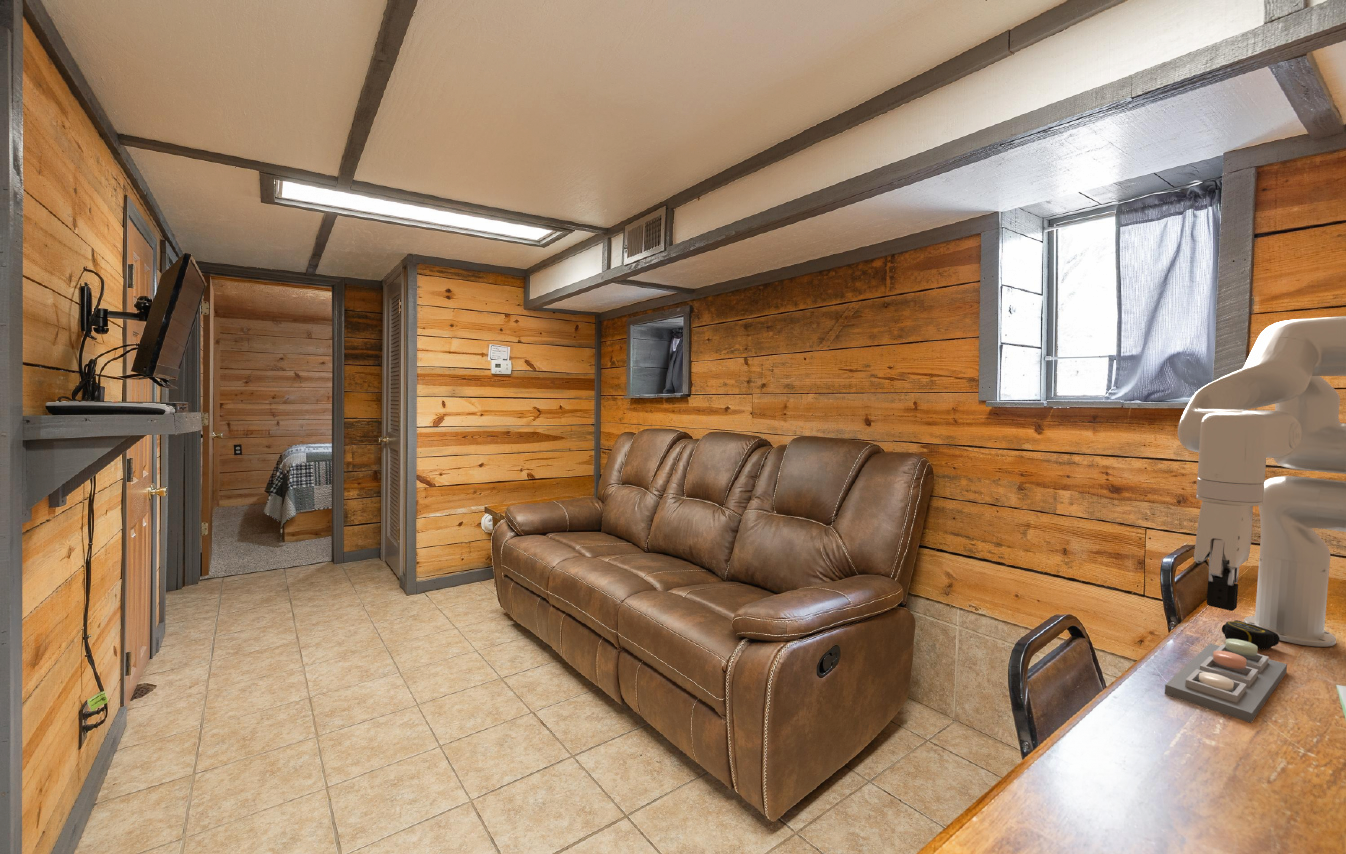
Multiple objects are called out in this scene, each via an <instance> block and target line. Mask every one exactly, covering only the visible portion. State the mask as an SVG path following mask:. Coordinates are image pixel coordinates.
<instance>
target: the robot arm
mask: <svg viewBox="0 0 1346 854" xmlns="http://www.w3.org/2000/svg"><path fill="white" fill-rule="evenodd" d="M1324 377H1346V315H1344V316H1342V315H1341V316H1330V317H1329V316H1328V317H1327V316H1326V317H1314V318H1311V317H1310V318H1297V319H1296V318H1295V319H1289V320H1282V321H1279V322H1278V321H1277V322H1274V323H1273V324H1271V325H1268V326H1267V327H1266V328H1264V330H1262V331H1261V332H1260V334H1259V335H1258V337H1257V339H1256V341H1255V342H1254V345H1253V347H1252V349H1251V351H1250V352H1249V355H1248V357H1247V359H1246V361H1245V363H1244V365H1243V367H1242V368H1241V369H1239V370H1236V371H1233V372H1231V373H1229V374H1226V375H1224V376H1221V377H1220V378H1218V379H1215V380H1214V381H1212V382H1209V383H1208V384H1205V385H1204V386H1202V387H1201V388H1199V389H1198V390H1197V391H1196V392H1195V393H1194V394H1193V395H1192V396H1191V398H1190V400H1189V401H1188V404H1187V406H1186V407H1185V409H1184V410H1183V412H1182V415H1181V416H1180V419H1179V422H1178V425H1177V438H1178V440H1179V443H1180V445H1181V446H1182V447H1184V449H1186V450H1189V451H1191V452H1195V453H1198V464H1197V480H1196V495H1195V498H1196V499H1197V500H1199V501H1201V505H1200V510H1199V512H1198V513H1199V515H1198V520H1197V527H1196V536H1195V544H1194V552H1193V559H1194V560H1193V561H1195V562H1196V563H1197V564H1201V563H1203V562H1205V561H1206V560H1208V580H1207V591H1206V592H1207V594H1206V604H1207V606H1209V607H1213V608H1217V609H1220V610H1221V609H1222V610H1226V611H1230V612H1233V611H1235V610H1236V609H1237V607H1238V596H1239V595H1238V594H1239V584H1238V581H1239V574H1240V566H1242V564H1244V563H1245V562H1247V560H1249V557H1250V553H1251V547H1252V535H1253V533H1252V532H1253V515H1254V509H1253V508H1254V507H1257V506H1258V512H1259V517H1260V519H1259V520H1260V521H1259V522H1260V545H1259V556H1258V557H1259V559H1258V560H1259V561H1258V573H1257V584H1256V585H1257V587H1256V588H1257V589H1256V598H1255V613H1254V615H1249V616H1246V617H1244V619H1243V622H1245V623H1248V624H1252V625H1256V626H1259V627H1262V628H1265V629H1267V630H1270V631H1272V632H1274V633H1276V634H1278V636H1279V641H1281V642H1284V643H1285V642H1286V643H1291V644H1295V645H1301V646H1306V647H1307V646H1308V647H1318V648H1319V647H1320V648H1321V647H1322V648H1323V647H1324V648H1326V647H1332V646H1335V645H1336V644H1337V643H1336V641H1337V638H1336V636H1335V635H1334V634H1333V633H1331V632H1329V631H1327V630H1325V628H1326V627H1325V625H1326V624H1325V623H1326V613H1327V599H1328V588H1329V576H1330V567H1331V566H1330V564H1331V552H1330V548H1329V547H1328V545H1327V543H1326V542H1325V541H1324V539H1322V537H1320V536H1319V535H1318V533H1317V532H1316V531H1315V530H1314V529H1318V530H1329V531H1336V532H1343V533H1346V480H1338V479H1337V480H1336V479H1327V478H1319V477H1318V478H1317V477H1307V476H1306V477H1305V476H1296V475H1295V476H1294V475H1280V476H1274V477H1269V478H1267V479H1265V478H1266V471H1267V470H1266V467H1267V459H1268V458H1269V459H1273V460H1274V462H1275V463H1276V464H1277V465H1278V466H1281V467H1284V468H1287V469H1293V470H1299V471H1300V470H1301V471H1308V472H1309V471H1310V472H1322V473H1332V474H1342V475H1343V474H1344V475H1346V422H1340V418H1339V415H1340V407H1341V406H1340V405H1341V397H1340V395H1339V393H1338V391H1337V390H1336V389H1335V388H1334V387H1333V386H1332V385H1331V384H1330V383H1329V382H1328V381H1327V380H1325V379H1324ZM1271 405H1274V406H1275V407H1274V410H1269V409H1268V410H1267V409H1266V410H1265V409H1257V408H1261V407H1262V408H1263V407H1267V406H1271Z"/></svg>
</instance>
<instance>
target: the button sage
mask: <svg viewBox="0 0 1346 854" xmlns="http://www.w3.org/2000/svg"><path fill="white" fill-rule="evenodd" d="M1224 642H1225V644H1224V645H1225V648H1226V649H1228V650H1230V651H1232V652H1235V653H1238V654H1242V655H1249V656H1255V655H1257V654H1258V650H1259V649H1258V647H1257V646H1256V645H1254V644H1252V643H1250V642H1247V641H1243V640H1238V639H1226V638H1225V641H1224Z"/></svg>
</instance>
